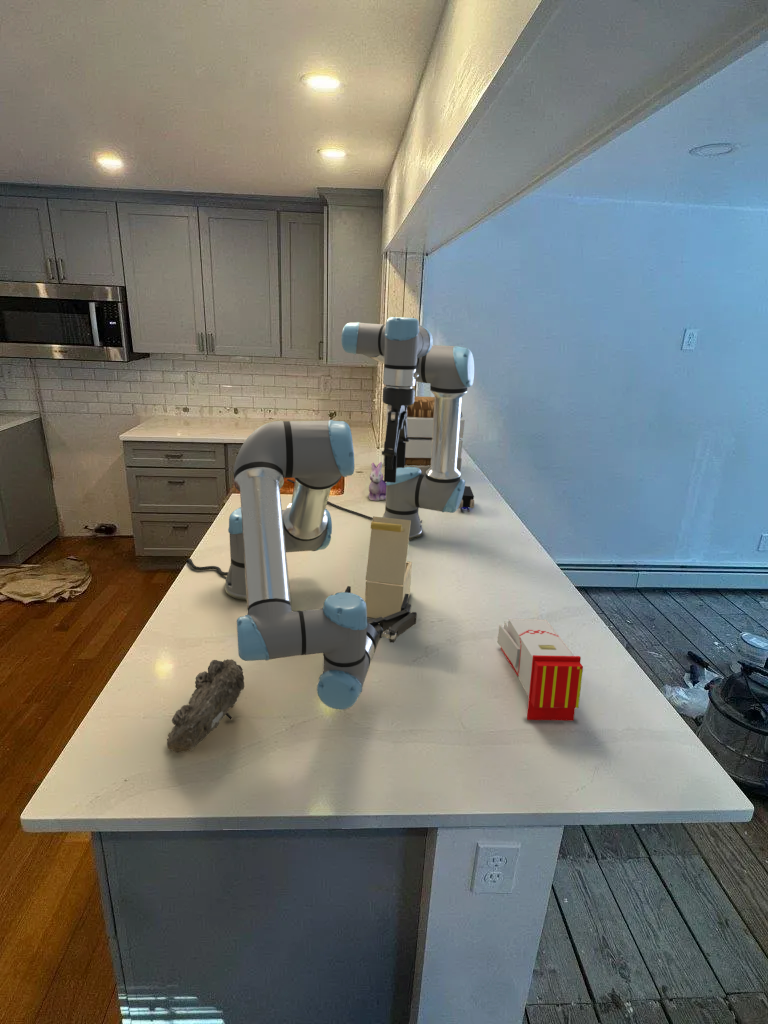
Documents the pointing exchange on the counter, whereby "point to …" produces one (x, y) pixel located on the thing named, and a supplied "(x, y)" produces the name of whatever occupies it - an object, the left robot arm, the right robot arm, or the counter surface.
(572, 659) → the toy
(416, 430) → the transformer
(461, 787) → the counter surface
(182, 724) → the fossil
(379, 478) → the figurine
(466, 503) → the figurine character
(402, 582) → the lid
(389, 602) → the chest
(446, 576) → the counter surface
